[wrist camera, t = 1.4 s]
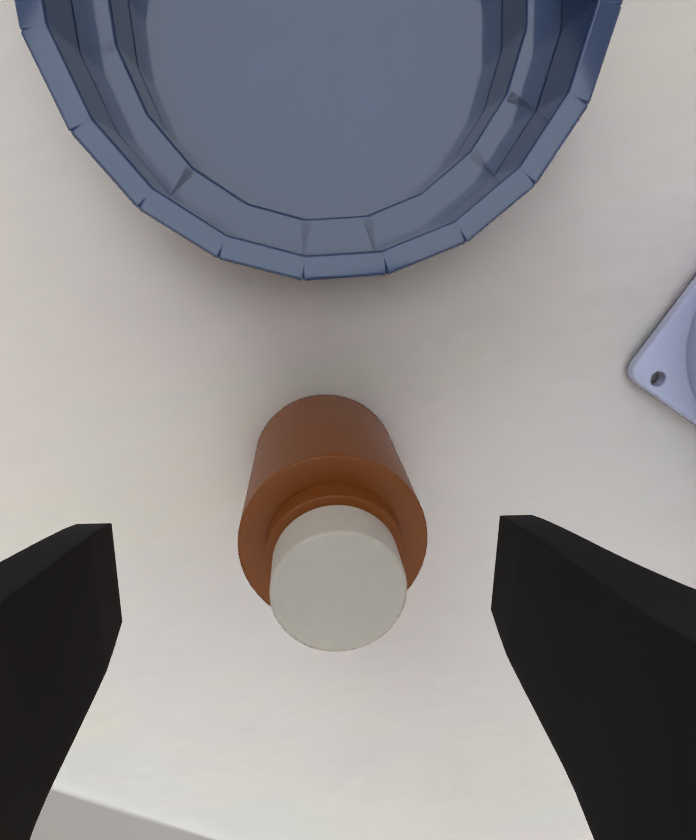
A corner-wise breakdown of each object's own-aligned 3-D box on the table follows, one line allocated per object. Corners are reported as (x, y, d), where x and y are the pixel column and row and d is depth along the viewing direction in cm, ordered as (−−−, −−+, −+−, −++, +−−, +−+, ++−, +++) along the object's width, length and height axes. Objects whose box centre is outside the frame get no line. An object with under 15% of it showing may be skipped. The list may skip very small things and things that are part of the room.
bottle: (419, 438, 21) (492, 558, 13) (346, 545, 22) (371, 717, 14) (301, 368, 20) (301, 450, 12) (230, 483, 21) (185, 630, 13)
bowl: (636, -40, 17) (750, -137, 13) (384, 348, 20) (408, 377, 15) (230, -407, 14) (198, -692, 10) (0, 105, 17) (-104, 58, 12)
